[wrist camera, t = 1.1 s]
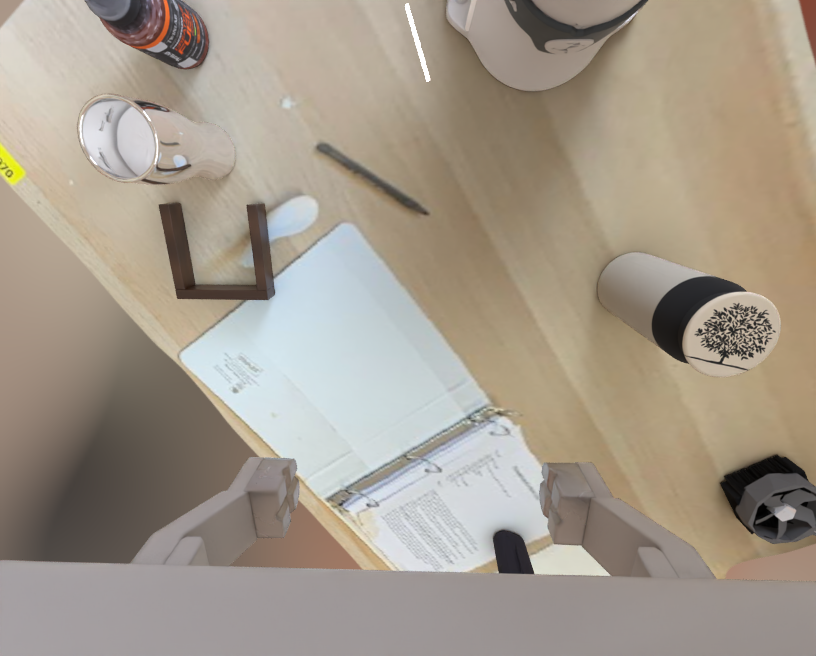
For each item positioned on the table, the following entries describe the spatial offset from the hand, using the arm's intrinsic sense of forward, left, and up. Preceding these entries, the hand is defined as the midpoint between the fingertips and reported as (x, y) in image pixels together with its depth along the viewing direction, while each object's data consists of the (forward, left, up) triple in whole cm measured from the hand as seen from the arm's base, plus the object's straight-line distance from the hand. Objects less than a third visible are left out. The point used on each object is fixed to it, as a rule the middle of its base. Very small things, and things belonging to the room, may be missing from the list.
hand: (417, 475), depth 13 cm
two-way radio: (+44, +14, -39) cm, 61 cm away
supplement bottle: (-23, -26, -39) cm, 52 cm away
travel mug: (+3, +25, -39) cm, 47 cm away
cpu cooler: (+33, +49, -39) cm, 71 cm away
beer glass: (-12, -25, -39) cm, 48 cm away
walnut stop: (-1, -25, -39) cm, 46 cm away
